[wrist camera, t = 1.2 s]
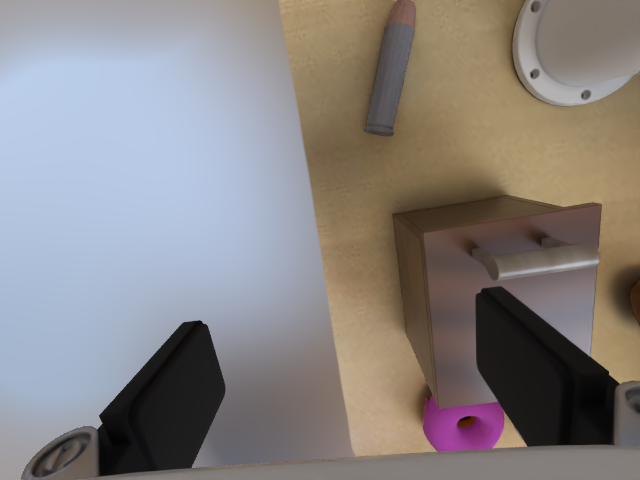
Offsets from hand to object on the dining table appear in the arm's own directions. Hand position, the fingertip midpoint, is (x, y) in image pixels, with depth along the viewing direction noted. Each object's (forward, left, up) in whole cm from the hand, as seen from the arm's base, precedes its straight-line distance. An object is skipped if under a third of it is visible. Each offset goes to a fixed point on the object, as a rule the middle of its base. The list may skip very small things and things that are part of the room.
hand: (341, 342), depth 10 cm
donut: (+29, +12, -25) cm, 40 cm away
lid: (+9, +13, -13) cm, 20 cm away
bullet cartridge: (-13, +6, -23) cm, 27 cm away
